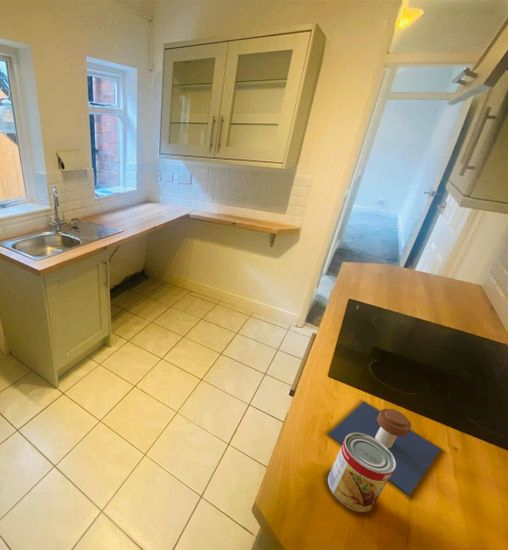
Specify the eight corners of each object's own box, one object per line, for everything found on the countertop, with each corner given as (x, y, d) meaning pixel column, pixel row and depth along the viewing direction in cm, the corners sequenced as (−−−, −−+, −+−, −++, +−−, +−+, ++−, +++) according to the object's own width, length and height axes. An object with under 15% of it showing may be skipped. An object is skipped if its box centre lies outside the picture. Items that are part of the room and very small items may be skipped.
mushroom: (375, 426, 74) (387, 402, 71) (402, 444, 70) (417, 419, 66) (364, 438, 71) (376, 412, 68) (392, 457, 67) (406, 431, 64)
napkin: (363, 402, 81) (364, 401, 81) (440, 450, 69) (440, 449, 69) (328, 434, 72) (328, 433, 72) (409, 495, 60) (409, 495, 60)
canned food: (380, 518, 57) (404, 478, 52) (333, 504, 59) (352, 465, 53) (364, 476, 64) (385, 438, 58) (323, 466, 65) (339, 428, 60)
